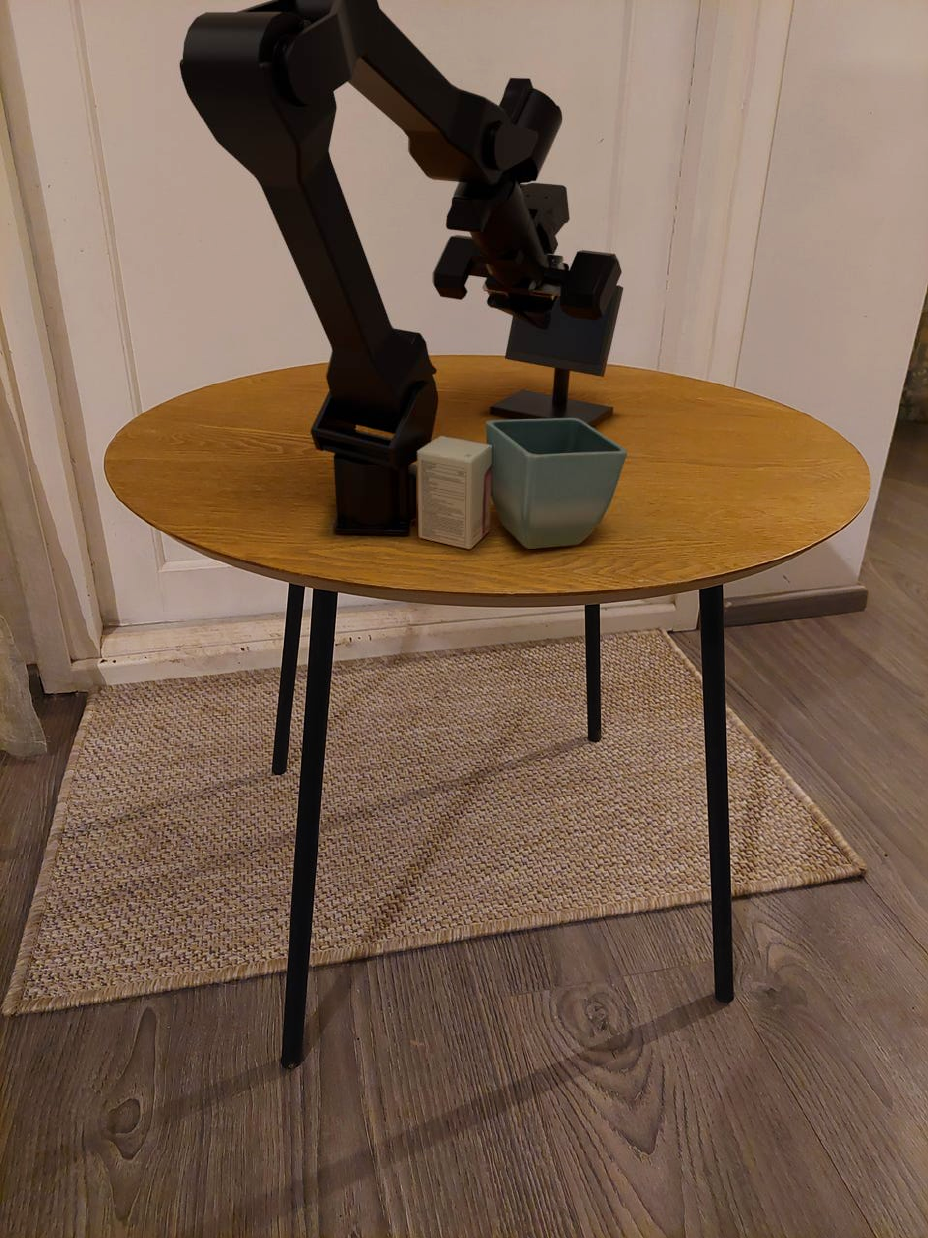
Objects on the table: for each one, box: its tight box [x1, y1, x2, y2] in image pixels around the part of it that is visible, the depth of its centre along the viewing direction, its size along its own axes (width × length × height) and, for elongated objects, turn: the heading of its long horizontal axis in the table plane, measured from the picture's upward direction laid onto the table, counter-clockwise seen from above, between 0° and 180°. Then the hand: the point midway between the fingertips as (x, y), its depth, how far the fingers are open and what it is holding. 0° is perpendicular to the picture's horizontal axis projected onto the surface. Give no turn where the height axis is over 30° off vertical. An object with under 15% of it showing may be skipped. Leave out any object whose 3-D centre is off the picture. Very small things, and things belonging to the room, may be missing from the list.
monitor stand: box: [489, 368, 614, 429], centre depth 103 cm, size 8×12×7 cm, turn 59°
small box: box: [416, 435, 492, 550], centre depth 75 cm, size 5×4×8 cm
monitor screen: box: [504, 284, 624, 378], centre depth 101 cm, size 1×12×10 cm, turn 59°
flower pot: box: [485, 418, 629, 550], centre depth 75 cm, size 9×9×9 cm
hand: (545, 325), depth 97 cm, fingers closed
